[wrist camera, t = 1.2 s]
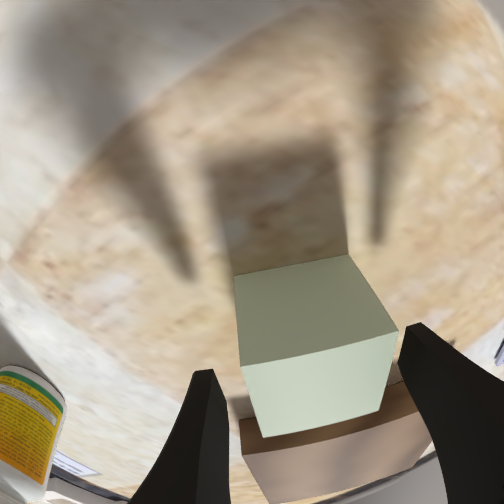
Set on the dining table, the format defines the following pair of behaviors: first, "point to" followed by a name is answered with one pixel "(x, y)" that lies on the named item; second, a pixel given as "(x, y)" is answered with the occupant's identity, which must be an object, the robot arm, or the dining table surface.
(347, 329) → the sage block
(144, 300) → the dining table surface
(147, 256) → the dining table surface
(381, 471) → the walnut base
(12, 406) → the supplement bottle
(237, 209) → the dining table surface
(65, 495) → the holder
